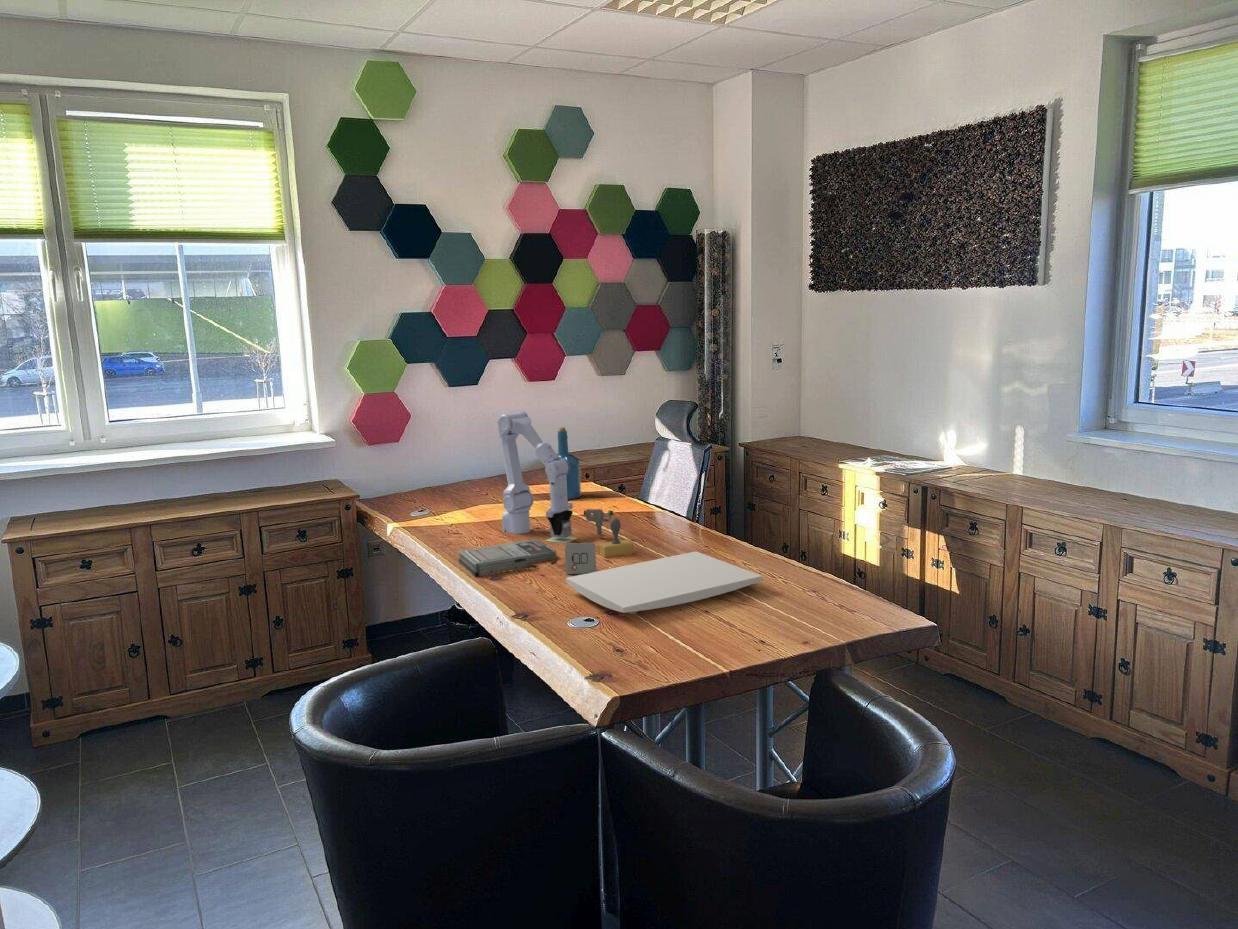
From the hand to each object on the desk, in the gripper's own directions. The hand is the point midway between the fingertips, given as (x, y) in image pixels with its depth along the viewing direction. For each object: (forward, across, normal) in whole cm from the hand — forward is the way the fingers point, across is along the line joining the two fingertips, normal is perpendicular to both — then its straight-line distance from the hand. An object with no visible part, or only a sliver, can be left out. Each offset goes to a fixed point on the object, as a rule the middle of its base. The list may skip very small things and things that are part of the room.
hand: (560, 533), depth 316 cm
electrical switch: (+4, -27, -23) cm, 36 cm away
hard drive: (+4, -27, +4) cm, 27 cm away
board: (+4, -36, -55) cm, 66 cm away
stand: (+4, 0, 0) cm, 4 cm away
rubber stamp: (+4, -5, -24) cm, 25 cm away
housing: (+1, 0, 0) cm, 1 cm away
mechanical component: (+4, +11, -9) cm, 15 cm away
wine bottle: (+4, +66, +37) cm, 76 cm away
